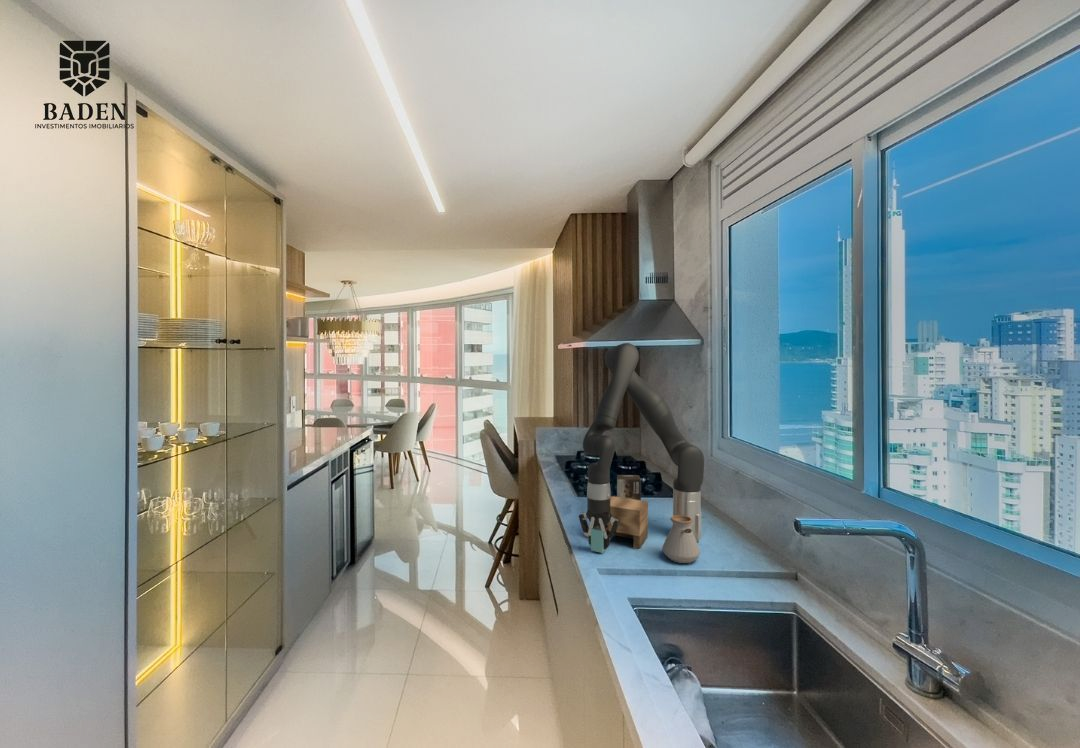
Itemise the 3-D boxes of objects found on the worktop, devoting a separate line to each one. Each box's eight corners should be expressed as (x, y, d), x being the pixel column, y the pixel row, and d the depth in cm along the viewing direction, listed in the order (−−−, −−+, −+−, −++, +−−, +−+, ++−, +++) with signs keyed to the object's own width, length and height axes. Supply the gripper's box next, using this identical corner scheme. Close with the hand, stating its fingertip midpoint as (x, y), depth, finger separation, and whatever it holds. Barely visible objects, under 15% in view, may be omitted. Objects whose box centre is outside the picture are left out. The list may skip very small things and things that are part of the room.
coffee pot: (660, 549, 150) (660, 504, 150) (696, 552, 148) (697, 506, 148) (668, 581, 129) (669, 529, 129) (711, 584, 127) (712, 531, 127)
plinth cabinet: (647, 537, 160) (647, 501, 159) (639, 549, 150) (639, 510, 150) (609, 530, 166) (609, 495, 166) (599, 541, 156) (599, 504, 156)
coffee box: (639, 514, 184) (639, 474, 183) (641, 519, 178) (641, 479, 177) (616, 513, 185) (616, 474, 184) (617, 519, 179) (618, 478, 178)
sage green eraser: (618, 534, 160) (618, 515, 160) (602, 552, 146) (602, 531, 146) (607, 532, 162) (607, 513, 162) (590, 550, 148) (590, 529, 148)
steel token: (599, 535, 163) (599, 528, 163) (594, 539, 159) (594, 533, 158) (586, 532, 165) (586, 525, 165) (581, 537, 161) (581, 530, 161)
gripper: (623, 495, 148) (623, 547, 149) (583, 489, 155) (583, 539, 155) (616, 501, 141) (616, 556, 142) (574, 495, 148) (574, 547, 149)
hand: (598, 546), depth 149 cm, fingers closed on sage green eraser, 4 cm apart
